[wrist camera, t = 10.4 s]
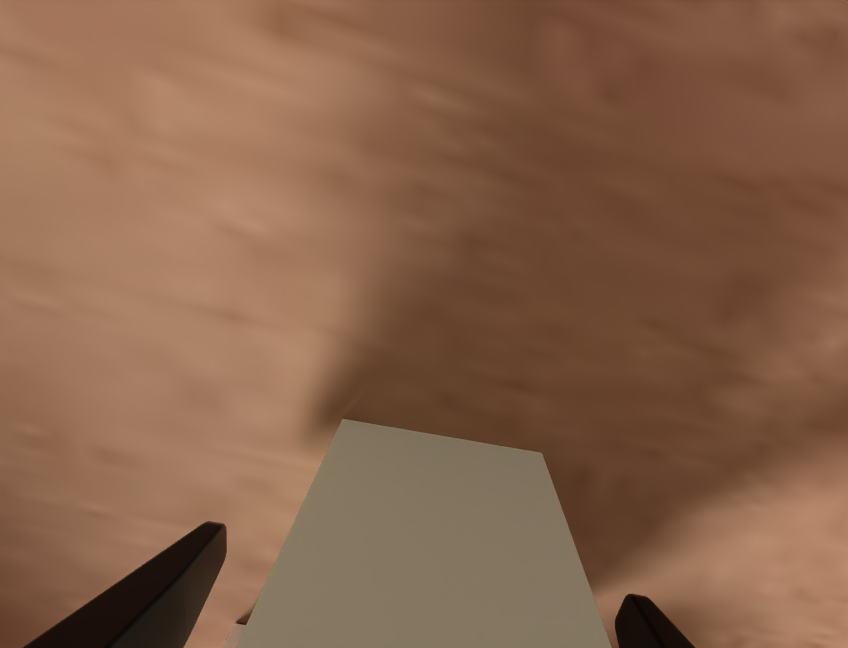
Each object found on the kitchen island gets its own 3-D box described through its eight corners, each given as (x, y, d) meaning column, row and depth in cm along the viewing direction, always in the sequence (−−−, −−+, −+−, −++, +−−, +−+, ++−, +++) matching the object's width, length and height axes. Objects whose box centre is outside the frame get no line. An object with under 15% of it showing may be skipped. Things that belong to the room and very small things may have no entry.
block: (541, 451, 10) (673, 820, 4) (497, 594, 11) (547, 998, 6) (342, 417, 10) (195, 734, 4) (327, 564, 11) (206, 938, 6)
